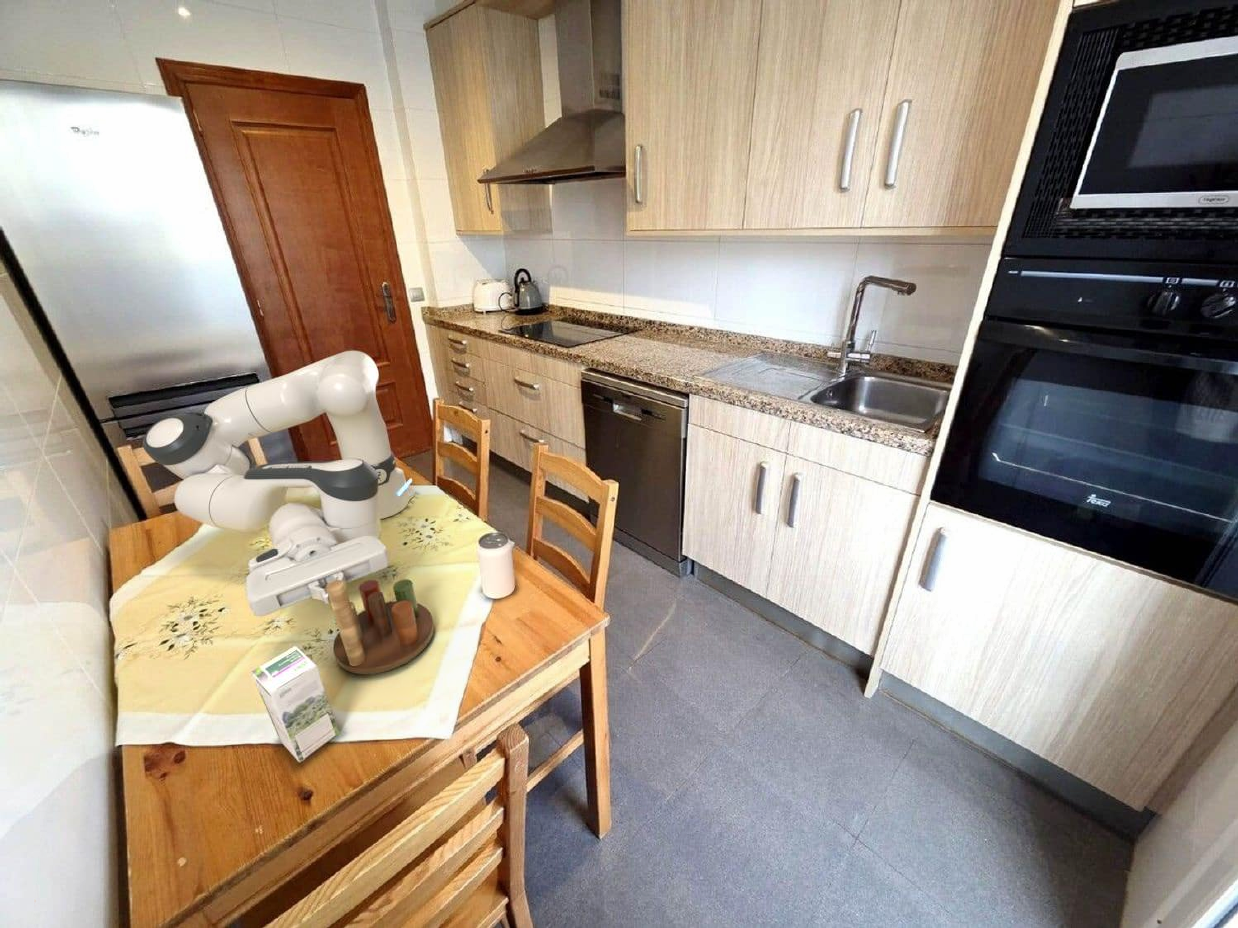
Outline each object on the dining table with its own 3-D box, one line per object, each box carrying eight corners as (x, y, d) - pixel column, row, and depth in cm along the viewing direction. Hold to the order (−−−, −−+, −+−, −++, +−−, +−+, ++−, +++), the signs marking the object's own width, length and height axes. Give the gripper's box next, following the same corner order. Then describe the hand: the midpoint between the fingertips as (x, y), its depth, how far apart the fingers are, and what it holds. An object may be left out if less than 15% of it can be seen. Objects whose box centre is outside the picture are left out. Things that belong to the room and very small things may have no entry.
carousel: (312, 661, 83) (283, 581, 76) (379, 598, 97) (360, 525, 90) (394, 684, 79) (372, 602, 72) (451, 615, 93) (438, 540, 86)
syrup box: (320, 713, 76) (294, 642, 70) (341, 734, 73) (316, 662, 66) (280, 742, 72) (248, 669, 65) (300, 765, 69) (269, 692, 62)
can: (507, 602, 98) (502, 552, 93) (477, 597, 99) (470, 547, 94) (520, 581, 104) (515, 532, 99) (491, 576, 105) (485, 528, 100)
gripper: (378, 548, 94) (406, 584, 85) (248, 596, 82) (264, 645, 72) (371, 519, 91) (399, 554, 82) (235, 565, 79) (250, 612, 70)
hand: (334, 597), depth 77 cm, fingers closed, pressing on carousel
